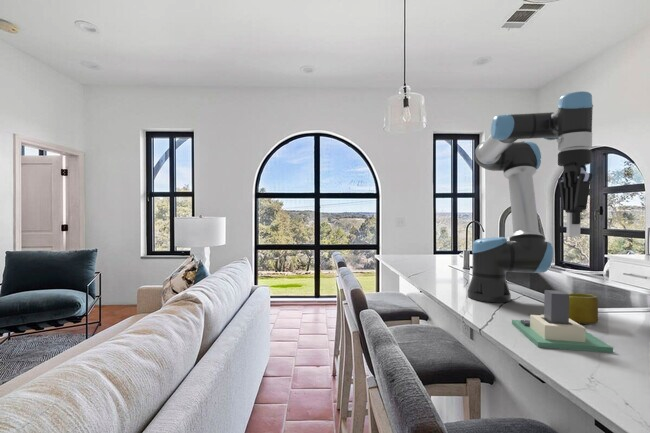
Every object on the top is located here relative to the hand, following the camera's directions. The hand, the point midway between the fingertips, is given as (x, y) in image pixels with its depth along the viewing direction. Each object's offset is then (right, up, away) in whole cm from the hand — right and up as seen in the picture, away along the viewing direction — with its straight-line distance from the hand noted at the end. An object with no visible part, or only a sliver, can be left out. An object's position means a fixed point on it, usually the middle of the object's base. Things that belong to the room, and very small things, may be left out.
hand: (573, 236), depth 93 cm
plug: (-9, -25, -5) cm, 27 cm away
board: (-7, -26, -4) cm, 28 cm away
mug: (+9, -27, +12) cm, 31 cm away
